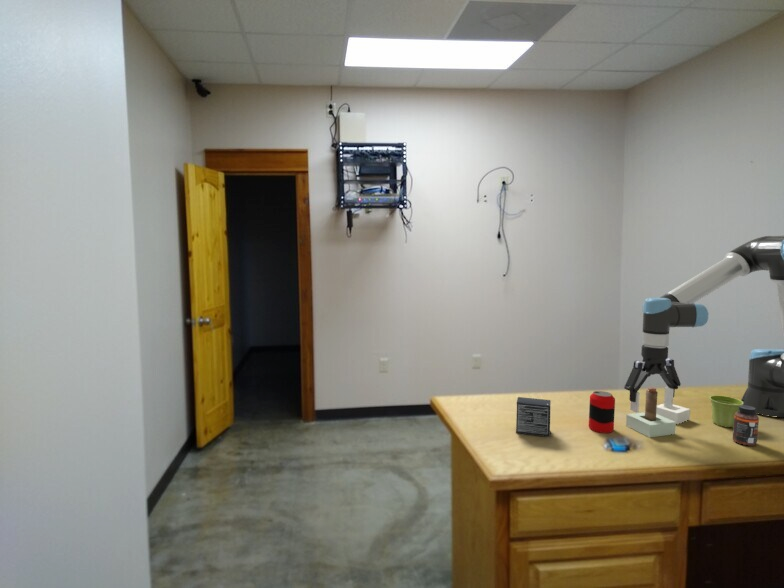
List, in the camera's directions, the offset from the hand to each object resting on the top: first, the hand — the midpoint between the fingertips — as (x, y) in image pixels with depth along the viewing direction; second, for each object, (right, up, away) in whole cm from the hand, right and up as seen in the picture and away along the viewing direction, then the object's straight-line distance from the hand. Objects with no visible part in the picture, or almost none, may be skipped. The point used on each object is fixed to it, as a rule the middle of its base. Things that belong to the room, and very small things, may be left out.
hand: (651, 409), depth 153 cm
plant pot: (+28, -7, +5) cm, 29 cm away
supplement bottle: (+23, -8, -9) cm, 26 cm away
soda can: (-16, -7, +2) cm, 18 cm away
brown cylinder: (0, -7, +1) cm, 7 cm away
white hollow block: (+13, -6, +10) cm, 17 cm away
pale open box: (0, -7, +1) cm, 7 cm away
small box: (-39, -7, -1) cm, 40 cm away
